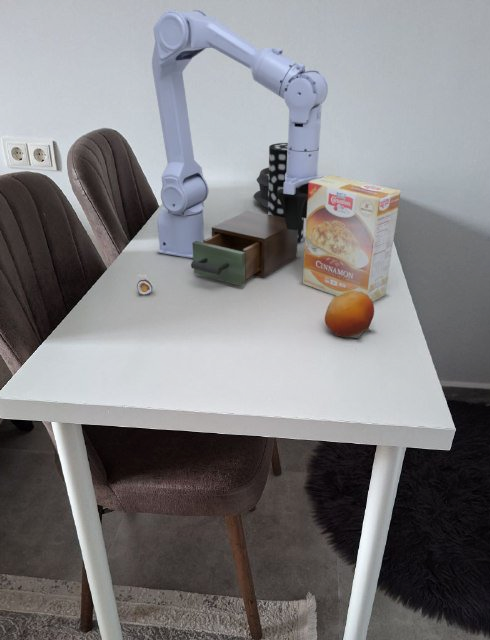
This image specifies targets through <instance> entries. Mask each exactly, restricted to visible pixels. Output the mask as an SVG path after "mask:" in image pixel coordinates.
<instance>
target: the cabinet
mask: <svg viewBox="0 0 490 640" xmlns="http://www.w3.org/2000/svg"><path fill="white" fill-rule="evenodd" d="M218 233H223V234H227V235H232V236H236V237H241V238H245V239H250V240H254V241H259V242H262V243H261V270H260V271H259V272H257V273H255V274H254V275H252V276H251V277H255V278H260V279H266V278H268V277H269V276H271V275H272V274H274V273H276V272H277V271H279V270H280V269H282V268H284V267H285V266H286V265H288V264H289V263H291V262H293V261H294V260H296V259H297V258H298V243H297V241H298V230H291V229H287V226H286V221H285V218H284V217H279V216H273V215H268V213H263V212H257V211H253V210H246V211H243V212H242V213H239V214H237V215H235V216H232V217H230V218H228V219H226V220H224V221H222V222H220V223H218V224H215V225H213V226H211V237H212V236H214V235H216V234H218Z"/></svg>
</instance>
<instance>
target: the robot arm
mask: <svg viewBox="0 0 490 640" xmlns="http://www.w3.org/2000/svg"><path fill="white" fill-rule="evenodd" d="M152 31H153V36H154V46H153V52H152V58H151V69H152V74H153V81H154V87H155V93H156V94H155V95H156V99H157V106H158V112H159V119H160V125H161V131H162V137H163V143H164V150H165V155H166V162H167V163H166V166H165V168H164V170H163V172H162V174H161V176H160V177H161V185H162V186H161V190H160V199H161V203H162V205H163V206H164V207H163V208H162V209H161V210H160V212H159V214H158V218H157V229H158V230H157V231H158V233H157V234H158V242H159V249H158V250H157V251H158V252H157V253H159V254H163V255H169V256H170V255H171V256H175V257H182V258H188V259H193V245H192V243H193V242H195V241H199V242H203V240H205V228H204V208H205V207H204V202H205V201H206V200H207V198H208V196H209V185H208V183H207V180H206V179H205V177H204V173H203V167H202V166H201V165H200V164H199V163H198V162H197V161H196V160H195V155H194V146H193V142H192V141H193V140H192V133H191V125H190V119H189V111H188V104H187V95H186V88H185V82H184V75H183V74H184V73H183V72H184V70H185V69H186V68H187V67H188V66H189V64H190V62H191V61H192V59H194V58H195V57H196V56H198V55H199V54H200V53H202V52H204V51H205V50H206V49H214V50H216V51H217V52H219V53H221V54H223V55H225V56H226V57H229V58H230V59H232V60H234V61H236V62H237V63H239V64H241V65H242V66H244V67H246V68H248V69H249V70H250V72H251V76H252V80H253V81H254V82H256V83H257V84H259V85H261V86H262V87H264V88H266V89H267V90H269V91H270V92H272V93H273V94H275V95H277V97H279V98H280V99H283V100H284V103H285V105H286V106H287V108H288V110H289V111H288V127H287V143H288V148H287V172H286V173H285V182H284V187H283V189H279V190H278V191H277V197H278V198H279V200H280V202H281V205H282V207H283V211H284V216H285V221H286V226H287V229H291V230H298V228H299V225H300V221H301V218H304V219H307V202H308V184H309V183H308V182H309V181H311V180H314V179H319V178H322V177H324V174H319V153H320V140H321V127H322V109H323V107H322V106H323V105H322V104H323V103H324V102H325V101H326V99H327V97H328V92H329V90H328V89H329V87H328V83H327V80H326V78H325V77H324V76H323V74H321V73H320V71H319V70H316V69H310V70H306V64H304V63H302V62H299V63H296V61H293V60H292V59H290V58H289V57H287V56H286V55H283V52H284V50H283V49H282V48H281V47H279V46H274V47H271V46H267V47H265V48H262V49H260V48H258V47H257V46H255V45H254V44H252V43H251V42H250V41H248V40H247V39H246V38H244V37H242V36H241V35H239V34H238V32H236V31H234V30H233V29H231V28H229V27H228V26H227V25H225V24H224V23H222V22H221V21H220V20H218V19H217V18H216V17H215V16H212V15H208V14H207V13H206V12H205V11H203V10H198V9H194V10H183V11H182V10H181V11H179V10H178V11H177V10H172V9H171V10H167V11H165V12H164V13H162V14H161V16H160V17H159V19H157V22H156V23H155V24H154V26H153V28H152Z"/></svg>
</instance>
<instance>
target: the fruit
mask: <svg viewBox="0 0 490 640" xmlns="http://www.w3.org/2000/svg"><path fill="white" fill-rule="evenodd" d="M374 305H375V304H374V302H372V300H371V299H370V298H369V296H368V295H367V294H365V293H363V292H357V291H349V292H346V293H344V294H342V295H340V296H334V297H333V298H332V299H330V302H329V303H328V305H327V308H326V311H325V314H324V323H325V325H326V327H327V328H328V329H329V330H330V331H331V333H332V334H334V335H336V336H338V337H341V338H356V339H358V340H359V339H360V337H361V335H362V334H363V333H364V332H365V331H369V332H372V330H371V329H369V328H370V326H371V324H372V321H373V318H374V316H375V306H374Z"/></svg>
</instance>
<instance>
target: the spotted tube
mask: <svg viewBox="0 0 490 640" xmlns="http://www.w3.org/2000/svg"><path fill="white" fill-rule="evenodd" d="M287 148H288V142H277V143H273V144H271V145H269V147H268V167H269V183H268V208H267V214H268V215H273V216H279V217H284V218H285V216H284V211H283V207H282V205H281V202H280V200H279V198H278V197H277V191H278V190H279V189H283V187H284V182H285V173H286V172H287ZM304 227H305V218H301V221H300V225H299V228H298V241H297V244H299V243H302V242H303V240H304V230H305V229H304Z"/></svg>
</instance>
